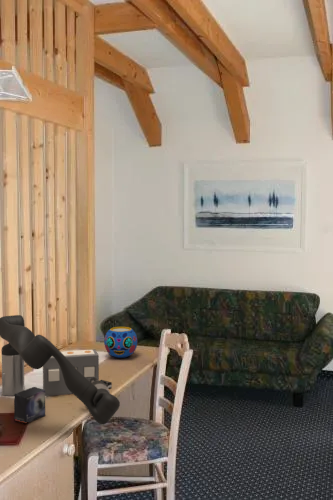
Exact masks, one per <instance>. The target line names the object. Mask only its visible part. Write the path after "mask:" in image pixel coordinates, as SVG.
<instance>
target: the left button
mask: <svg viewBox="0 0 333 500" xmlns="http://www.w3.org/2000/svg"><path fill="white" fill-rule="evenodd" d="M48 380H49V381H59V368H57V369H48Z"/></svg>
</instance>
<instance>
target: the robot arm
mask: <svg viewBox="0 0 333 500" xmlns="http://www.w3.org/2000/svg"><path fill="white" fill-rule="evenodd" d="M0 338H1V339H3V340H4V341H7V343H6V344H5V345H3V346H2V347H1V352H0V353H1V395H2V396H9V397H10V396H11V397H14V394H15V393H18V392H21V391H24V390H26V389H25V386H26V385H25V364H26V365H27V366H28V367H29V368H32V369H33V370H40V369H41V368H43V366H44V365H45V363H46V362H47V361H48V360H49V359H50V357H52V356H53V357H54V358H55V359H56V360H57V362H58V364H59V366H60V368H61V371H62V374H63V378H64V381H65V384H66V386H67V388H68V389H69V391H70V392H71V393H73V394H72V395H73V396H75V397H76V398H77V399H78V400H79V401H81V402H82V404H83V405H84V406H85V408H86V409H87V410H88V411H89V413H90V415H91V416H92V419H93V420H94V421H95V422H96V423H97V424H99V425H106V424H107V423H109V421H110V420H111V419H112V417H114V415H115V414H116V412H117V411H118V410H119V408H120V406H121V404H120V402H121V401H120V400H119V398H117V397H116V396H115V395H114V394H111V393H110V390H112V385H113V383H112V381H107V380H104V379H99V380H97V379H96V378H92V379H90V381H89V380H88V379H87V378H85V377H84V376H83V375H82V374H81V373H80V372H79V371H78V370H77V369H76V368H75V367H74V366H73V365H72V364H71V362H70V361H69V360H68V359H67V358H66V357H65V356H64V355H63V354H62V353H61V352H62V351H60V349H58V347H56V345H54V344H53V343H52V342H51V341H50V340H49V339H48V338H47V337H45V336H43V335H42V334H36V335H35V334H34V332H33V331H32V330H30V328H29V327H27V326H26V324H25V318H24V317H23V316H22V315H21V314H20V315H19V314H15V315H7V316H6V315H4V316H0Z"/></svg>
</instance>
